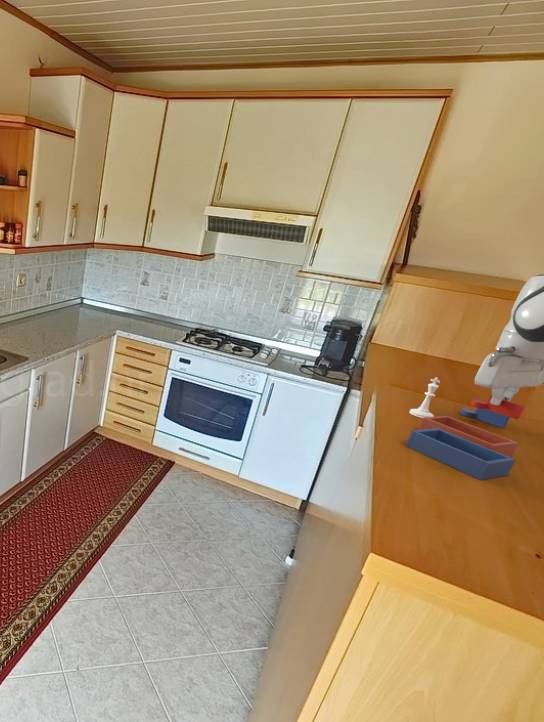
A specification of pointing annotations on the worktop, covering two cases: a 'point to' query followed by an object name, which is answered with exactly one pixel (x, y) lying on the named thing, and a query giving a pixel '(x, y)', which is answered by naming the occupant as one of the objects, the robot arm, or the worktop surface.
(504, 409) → the red block
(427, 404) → the chess piece
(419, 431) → the blue bin
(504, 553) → the worktop surface
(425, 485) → the worktop surface
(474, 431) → the red bin
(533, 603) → the worktop surface
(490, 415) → the blue flat paddle
